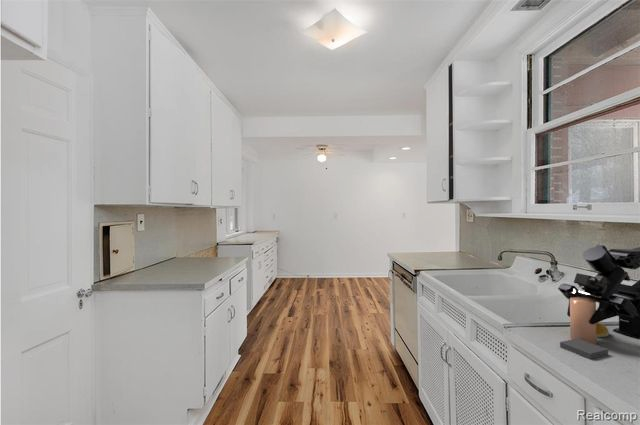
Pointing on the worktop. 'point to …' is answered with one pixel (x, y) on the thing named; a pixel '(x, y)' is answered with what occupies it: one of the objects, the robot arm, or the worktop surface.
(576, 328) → the peach cylinder
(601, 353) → the plate
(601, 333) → the bread roll
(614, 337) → the worktop surface
